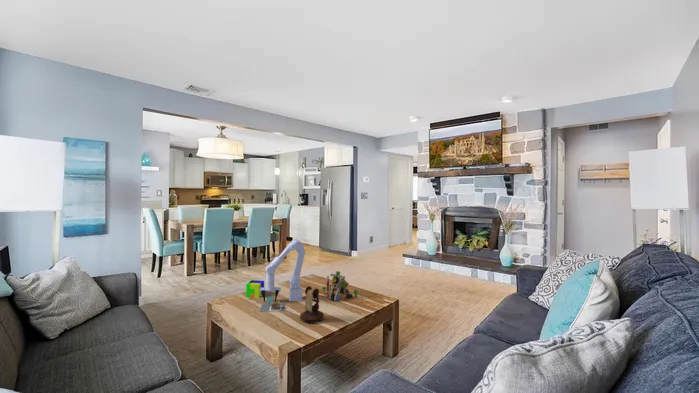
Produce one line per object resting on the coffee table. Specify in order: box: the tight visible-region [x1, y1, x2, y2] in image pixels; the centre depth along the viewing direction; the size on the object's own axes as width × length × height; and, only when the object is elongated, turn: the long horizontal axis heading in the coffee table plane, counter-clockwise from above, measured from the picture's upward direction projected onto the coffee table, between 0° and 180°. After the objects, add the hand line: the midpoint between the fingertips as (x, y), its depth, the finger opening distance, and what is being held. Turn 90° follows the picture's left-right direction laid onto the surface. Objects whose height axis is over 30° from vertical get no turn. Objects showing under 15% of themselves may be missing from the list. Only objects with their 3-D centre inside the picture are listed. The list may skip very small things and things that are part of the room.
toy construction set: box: [321, 270, 359, 302], centre depth 234 cm, size 27×22×21 cm
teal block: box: [265, 295, 275, 304], centre depth 217 cm, size 4×4×4 cm
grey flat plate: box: [259, 302, 286, 313], centre depth 207 cm, size 16×14×1 cm
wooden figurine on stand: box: [299, 285, 324, 325], centre depth 191 cm, size 15×15×20 cm
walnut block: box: [270, 300, 281, 310], centre depth 206 cm, size 5×5×4 cm
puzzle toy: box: [245, 279, 265, 299], centre depth 232 cm, size 10×10×10 cm
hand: (270, 300), depth 217 cm, fingers open, 7 cm apart
